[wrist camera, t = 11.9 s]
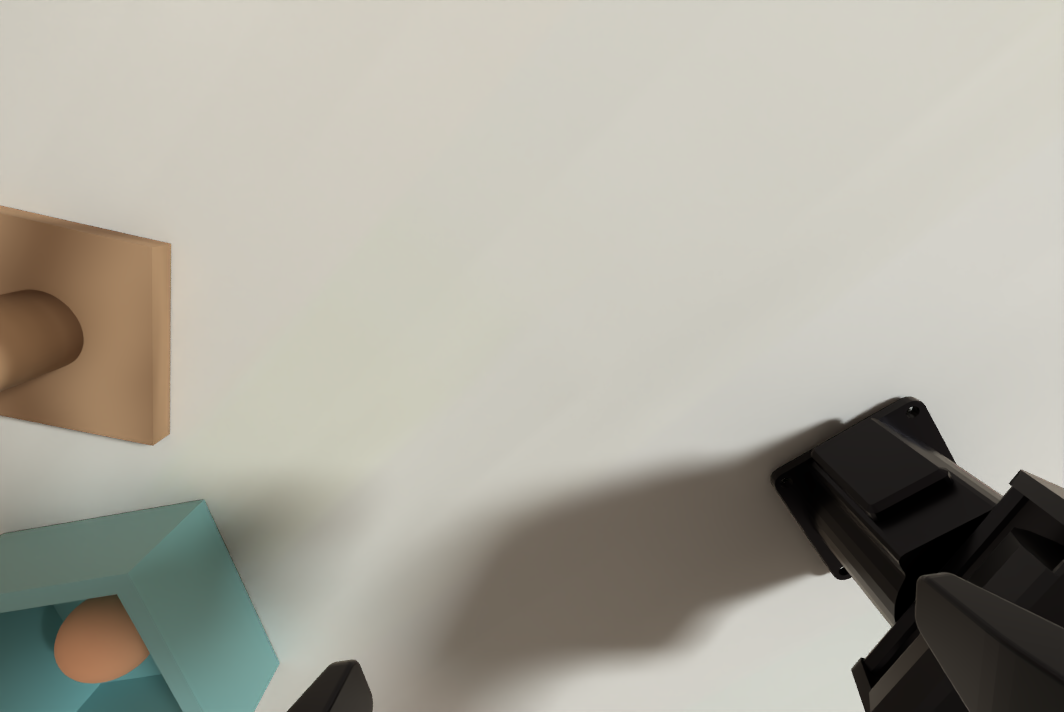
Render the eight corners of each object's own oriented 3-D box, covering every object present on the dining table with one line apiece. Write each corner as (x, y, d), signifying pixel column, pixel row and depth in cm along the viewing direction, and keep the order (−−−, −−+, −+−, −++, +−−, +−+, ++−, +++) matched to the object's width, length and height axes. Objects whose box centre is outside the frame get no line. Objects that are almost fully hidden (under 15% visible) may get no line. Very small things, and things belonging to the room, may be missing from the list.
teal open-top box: (203, 499, 23) (127, 573, 19) (279, 663, 26) (228, 759, 22) (2, 533, 23) (-115, 612, 19) (99, 689, 26) (16, 787, 22)
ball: (193, 595, 24) (136, 646, 21) (159, 658, 24) (97, 719, 21) (122, 559, 24) (51, 604, 20) (89, 623, 24) (13, 679, 21)
